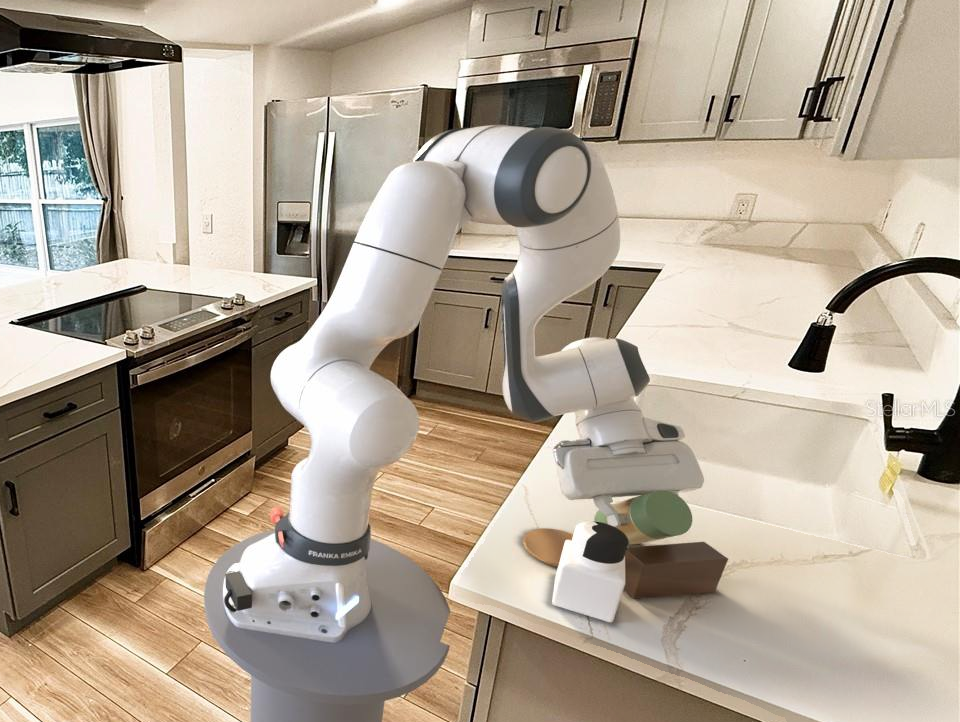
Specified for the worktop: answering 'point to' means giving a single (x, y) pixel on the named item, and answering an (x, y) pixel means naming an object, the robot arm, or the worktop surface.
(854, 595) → the worktop surface
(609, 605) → the medicine bottle
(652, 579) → the brown rectangular block
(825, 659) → the worktop surface
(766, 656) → the worktop surface
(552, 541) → the cork coaster
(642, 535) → the tin can
